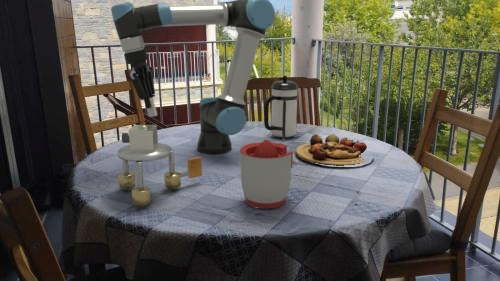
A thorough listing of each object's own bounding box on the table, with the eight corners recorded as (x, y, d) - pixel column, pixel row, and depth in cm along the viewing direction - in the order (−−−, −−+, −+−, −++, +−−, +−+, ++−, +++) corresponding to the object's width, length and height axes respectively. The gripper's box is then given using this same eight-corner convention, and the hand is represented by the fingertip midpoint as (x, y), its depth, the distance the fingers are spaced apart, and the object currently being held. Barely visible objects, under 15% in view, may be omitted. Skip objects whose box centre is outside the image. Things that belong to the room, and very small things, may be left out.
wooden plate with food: (335, 175, 147) (337, 154, 145) (279, 153, 171) (280, 134, 169) (389, 161, 165) (391, 142, 163) (331, 142, 190) (333, 125, 188)
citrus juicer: (303, 209, 118) (306, 144, 113) (245, 215, 115) (245, 148, 109) (287, 189, 133) (289, 131, 128) (236, 193, 130) (235, 134, 124)
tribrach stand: (176, 185, 136) (173, 119, 130) (167, 210, 118) (163, 134, 112) (122, 186, 135) (117, 120, 129) (105, 210, 117) (97, 135, 111)
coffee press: (267, 132, 205) (268, 73, 197) (298, 134, 203) (301, 74, 195) (263, 142, 188) (264, 77, 180) (298, 143, 186) (300, 78, 178)
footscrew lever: (169, 192, 129) (167, 154, 125) (162, 187, 133) (159, 150, 129) (204, 183, 137) (203, 147, 133) (197, 178, 141) (195, 143, 137)
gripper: (134, 49, 145) (152, 112, 152) (114, 55, 133) (135, 122, 140) (152, 46, 143) (170, 109, 150) (134, 51, 131) (154, 119, 138)
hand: (153, 115), depth 145 cm, fingers closed
